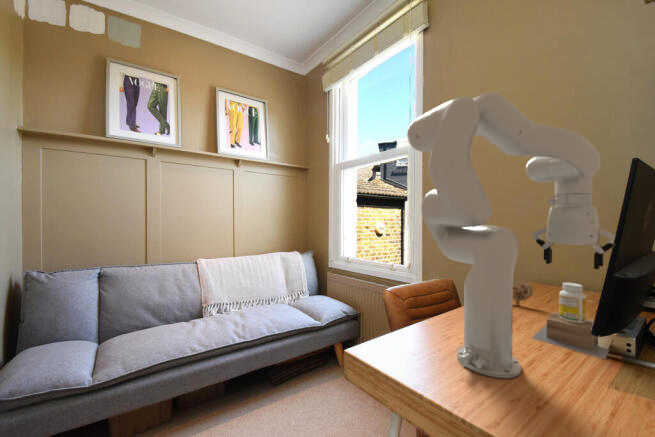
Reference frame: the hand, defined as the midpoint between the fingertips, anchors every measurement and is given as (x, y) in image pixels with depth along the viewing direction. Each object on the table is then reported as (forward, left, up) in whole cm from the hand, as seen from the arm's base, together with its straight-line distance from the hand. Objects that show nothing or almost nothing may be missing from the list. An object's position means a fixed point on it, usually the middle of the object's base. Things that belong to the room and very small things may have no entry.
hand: (571, 265), depth 73 cm
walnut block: (0, 0, -20) cm, 20 cm away
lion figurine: (+22, +21, -21) cm, 36 cm away
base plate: (0, 0, -20) cm, 20 cm away
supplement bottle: (0, 0, -15) cm, 15 cm away
